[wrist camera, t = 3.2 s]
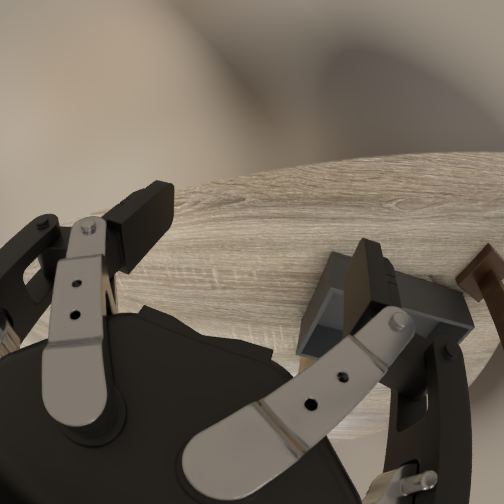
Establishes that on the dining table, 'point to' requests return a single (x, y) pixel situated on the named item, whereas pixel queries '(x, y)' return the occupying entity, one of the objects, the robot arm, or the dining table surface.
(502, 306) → the stand
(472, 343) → the dining table surface
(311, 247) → the dining table surface
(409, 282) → the bin
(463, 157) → the dining table surface
